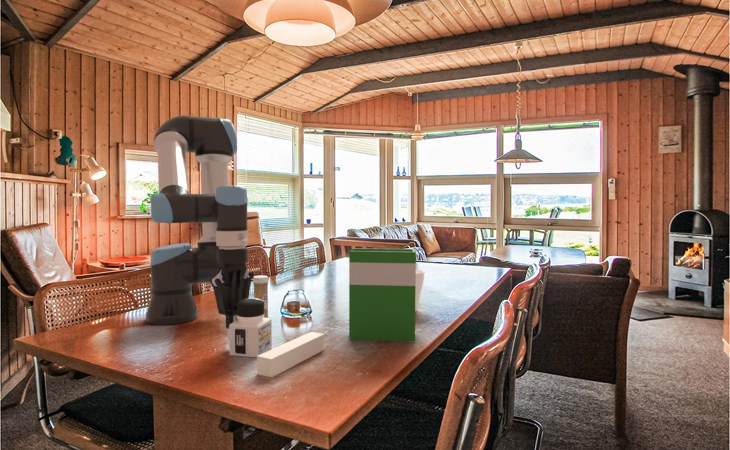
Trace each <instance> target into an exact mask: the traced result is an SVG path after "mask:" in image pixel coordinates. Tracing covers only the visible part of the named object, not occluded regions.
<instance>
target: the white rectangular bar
mask: <svg viewBox="0 0 730 450" xmlns="http://www.w3.org/2000/svg"><path fill="white" fill-rule="evenodd" d="M324 350H325V333H321V332H316V331H315V332H314V331H310V332H307V333H305V334H303V335H301V336H299V337H297V338H293V339H292V340H289V341H287V342H286V343H283V344H281V345H279V346H276V347H273V348H272V349H271V348H270V349H269V350H268V351H266V352H265V353H262V354H260V355H258V356H257V358H256V368H257V369H256V371H257V372H256V374H257V375H260V376H264V377H267V378H274V377H276V376H278V375H279V374H282V373H283V372H285V371H287V370H289V369H291V368H292V367H294V366H296V365H298V364H300V363H302V362H304V361H305V360H307V359H310V358H312V357H313V356H315V355H317V354H319V353H321V352H323V351H324Z"/></svg>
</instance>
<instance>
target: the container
mask: <svg viewBox="0 0 730 450" xmlns="http://www.w3.org/2000/svg"><path fill="white" fill-rule="evenodd" d="M237 319H239V320H237V321H235V322H233V323H231V324H230V325H229V340H228V341H229V342H228V343H229V356H236V357H247V358H256V359H257V356H258V355H260V354H262V353H265V352H267V351H269V350H271V348H272V345H273V344H272V343H273V342H272V341H273V340H272V337H273V336H272V334H273V333H272V332H273V331H272V327H273V326H272V318H271V317H268V318H264V301H263V300H261V299H257V298H254V297H252V298H251V297H250V298H248V299H243V300H241V301H239V302H238V303H237Z"/></svg>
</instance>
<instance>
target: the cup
mask: <svg viewBox="0 0 730 450" xmlns="http://www.w3.org/2000/svg"><path fill="white" fill-rule="evenodd" d="M424 278H425V271H424V270H422V269H416V284H415V313H416V312H417V311H418V308H419V307H418V306H419V302H420V301H419V300H420V297H421V292H422V289H423V285H424V280H425V279H424Z"/></svg>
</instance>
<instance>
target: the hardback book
mask: <svg viewBox="0 0 730 450" xmlns="http://www.w3.org/2000/svg"><path fill="white" fill-rule="evenodd" d="M351 249H352V250H349V251H348V254H349V255H348V259H349V262H348V264H349V265H348V266H349V267H348V268H349V269H348V270H349V271H348V276H349V278H348V280H349V281H348V283H349V284H348V285H349V287H348V289H349V290H348V295H349V296H348V297H349V299H348V300H349V301H348V303H349V305H348V312H349V313H348V314H349V318H348V319H349V322H348V323H349V324H348V325H349V327H348V337H349V338H348V339H349V340H354V341H376V340H390V341H389V342H405V341H415V342H416V312H415V284H416V268H417V266H416V261H417V260H416V258H417V254H416V253H417V251H416V248H367V247H366V248H361V247H358V248H357V247H355V248H354V247H352V248H351Z"/></svg>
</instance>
